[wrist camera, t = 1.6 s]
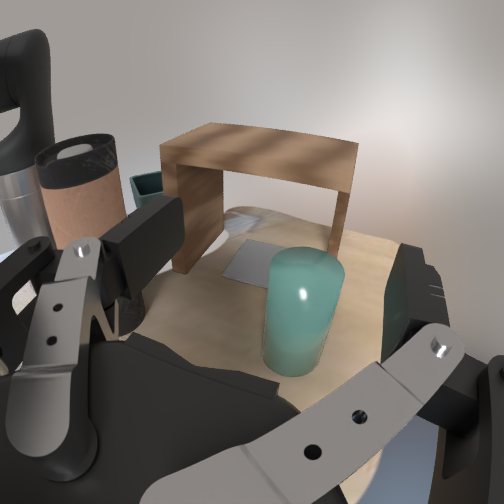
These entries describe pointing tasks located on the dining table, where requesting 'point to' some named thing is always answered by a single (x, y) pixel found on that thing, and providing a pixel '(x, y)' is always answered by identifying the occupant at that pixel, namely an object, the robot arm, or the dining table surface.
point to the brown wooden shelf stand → (249, 162)
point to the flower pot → (146, 188)
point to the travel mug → (86, 200)
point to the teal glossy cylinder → (299, 308)
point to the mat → (252, 263)
